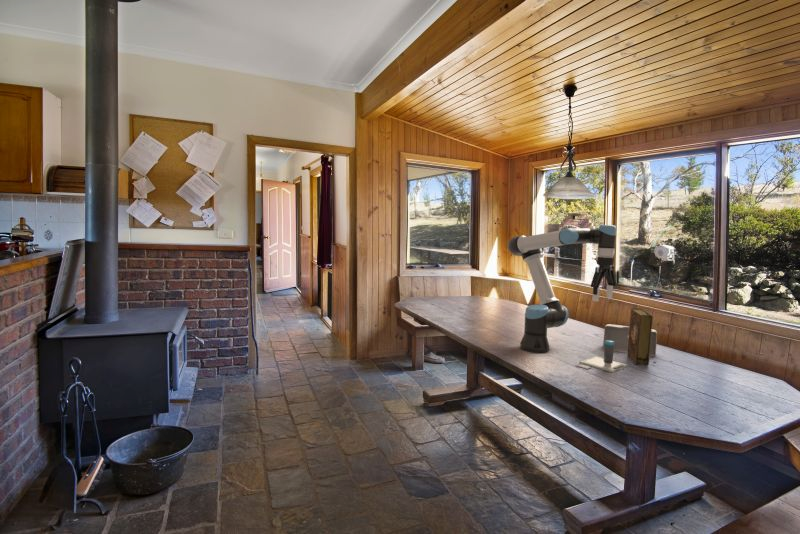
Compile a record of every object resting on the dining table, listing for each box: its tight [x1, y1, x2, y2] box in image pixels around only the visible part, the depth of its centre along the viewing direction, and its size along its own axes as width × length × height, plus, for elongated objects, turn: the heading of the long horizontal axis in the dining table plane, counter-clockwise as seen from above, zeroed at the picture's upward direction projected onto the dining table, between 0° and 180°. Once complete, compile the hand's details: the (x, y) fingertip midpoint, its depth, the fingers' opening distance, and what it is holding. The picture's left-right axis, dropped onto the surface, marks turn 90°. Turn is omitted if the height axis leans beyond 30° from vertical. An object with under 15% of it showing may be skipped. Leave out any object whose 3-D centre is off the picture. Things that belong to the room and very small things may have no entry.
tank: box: [602, 323, 658, 358], centre depth 244 cm, size 25×16×12 cm, turn 62°
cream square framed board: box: [579, 355, 628, 373], centre depth 218 cm, size 16×15×1 cm
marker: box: [603, 340, 615, 367], centre depth 212 cm, size 4×4×12 cm
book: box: [626, 307, 654, 366], centre depth 224 cm, size 16×6×25 cm, turn 168°
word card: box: [575, 363, 593, 370], centre depth 214 cm, size 6×4×1 cm, turn 39°
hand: (602, 299), depth 221 cm, fingers open, 13 cm apart
